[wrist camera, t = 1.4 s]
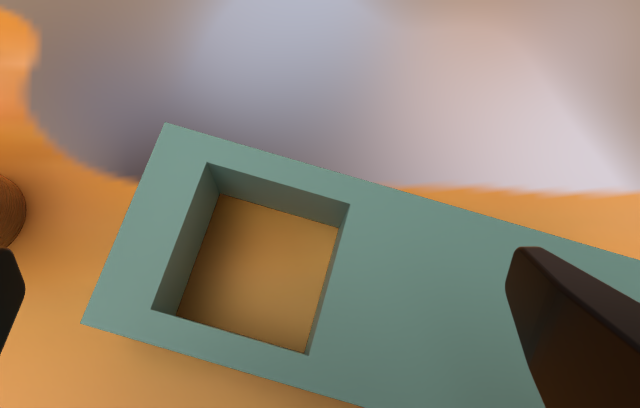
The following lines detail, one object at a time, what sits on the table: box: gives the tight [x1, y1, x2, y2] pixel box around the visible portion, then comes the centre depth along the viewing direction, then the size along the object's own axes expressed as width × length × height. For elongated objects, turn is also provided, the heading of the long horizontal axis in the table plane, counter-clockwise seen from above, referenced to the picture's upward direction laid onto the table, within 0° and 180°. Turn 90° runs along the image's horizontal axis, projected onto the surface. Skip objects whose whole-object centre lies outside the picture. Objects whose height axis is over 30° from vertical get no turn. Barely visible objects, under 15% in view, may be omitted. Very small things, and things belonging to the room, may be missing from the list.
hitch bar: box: [80, 122, 640, 408], centre depth 19 cm, size 20×8×4 cm, turn 74°
